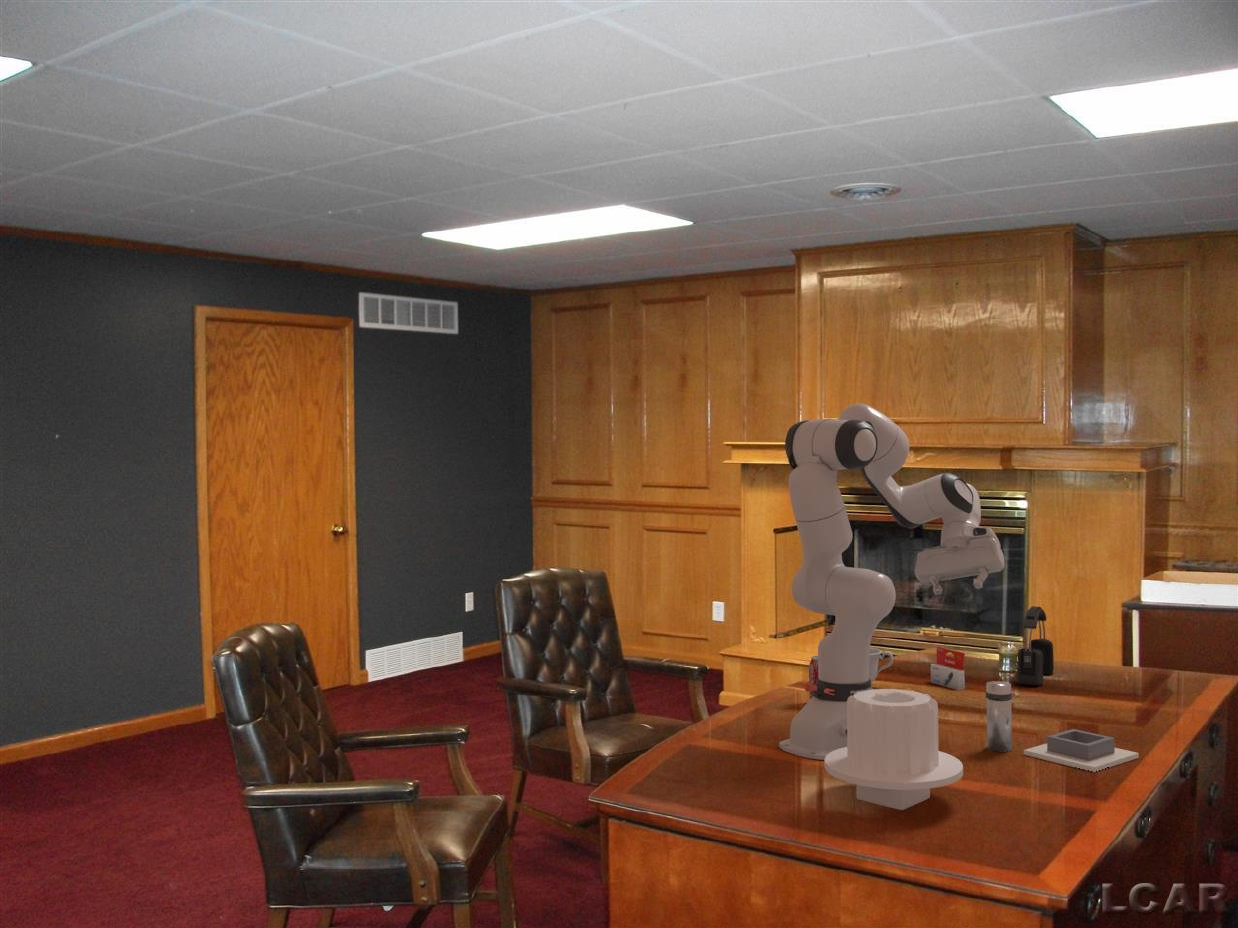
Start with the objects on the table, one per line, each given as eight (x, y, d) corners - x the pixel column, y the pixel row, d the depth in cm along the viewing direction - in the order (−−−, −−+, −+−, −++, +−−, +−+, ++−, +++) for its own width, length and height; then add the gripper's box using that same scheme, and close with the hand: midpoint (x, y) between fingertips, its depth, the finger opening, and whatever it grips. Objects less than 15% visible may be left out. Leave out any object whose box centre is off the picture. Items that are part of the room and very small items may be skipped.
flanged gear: (798, 799, 206) (796, 698, 205) (872, 770, 223) (870, 677, 223) (918, 831, 188) (916, 721, 187) (988, 796, 205) (986, 695, 205)
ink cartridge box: (958, 690, 292) (957, 653, 292) (930, 682, 302) (929, 647, 302) (965, 689, 293) (965, 652, 293) (937, 681, 303) (936, 646, 303)
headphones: (1040, 688, 293) (1039, 613, 293) (1015, 685, 296) (1014, 611, 296) (1055, 672, 312) (1054, 602, 311) (1032, 670, 315) (1031, 600, 315)
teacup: (894, 692, 291) (894, 654, 291) (837, 691, 294) (836, 653, 294) (892, 682, 303) (892, 646, 302) (837, 681, 306) (836, 645, 305)
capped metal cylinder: (1002, 753, 233) (1001, 687, 233) (981, 748, 237) (980, 683, 237) (1018, 749, 236) (1017, 683, 236) (996, 743, 240) (995, 679, 240)
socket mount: (1094, 772, 219) (1094, 752, 219) (1023, 754, 232) (1023, 735, 232) (1138, 757, 228) (1138, 738, 228) (1068, 741, 241) (1068, 723, 241)
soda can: (830, 709, 274) (829, 661, 274) (804, 705, 279) (803, 658, 278) (842, 703, 280) (841, 656, 280) (817, 700, 284) (816, 653, 284)
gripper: (912, 542, 264) (908, 588, 256) (997, 527, 253) (996, 575, 244) (922, 557, 268) (919, 604, 259) (1007, 543, 257) (1006, 591, 248)
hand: (957, 590), depth 252 cm, fingers open, 8 cm apart
